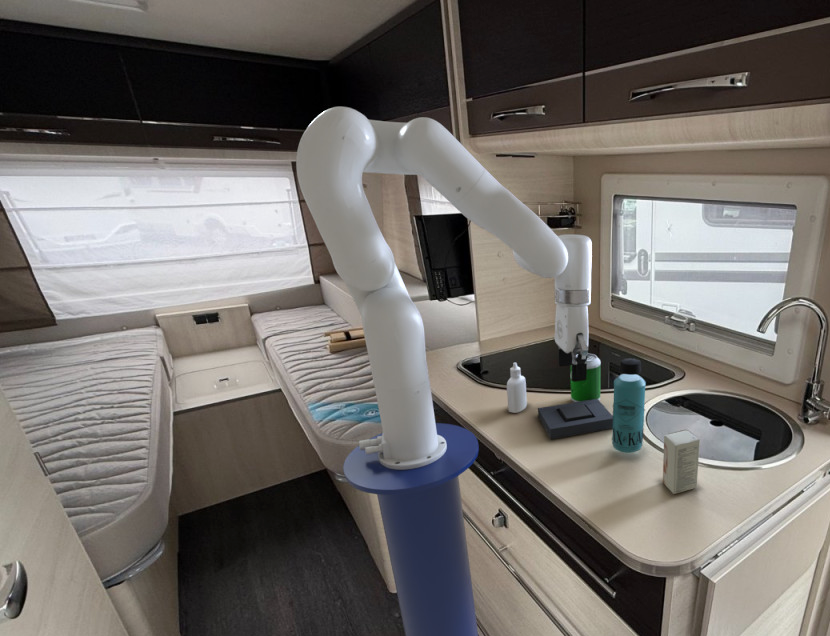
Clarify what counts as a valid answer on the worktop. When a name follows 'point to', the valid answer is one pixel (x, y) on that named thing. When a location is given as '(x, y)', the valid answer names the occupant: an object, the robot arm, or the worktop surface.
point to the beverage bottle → (628, 407)
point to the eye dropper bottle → (516, 390)
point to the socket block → (563, 429)
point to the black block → (574, 413)
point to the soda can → (587, 381)
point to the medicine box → (680, 461)
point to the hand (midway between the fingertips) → (571, 372)
